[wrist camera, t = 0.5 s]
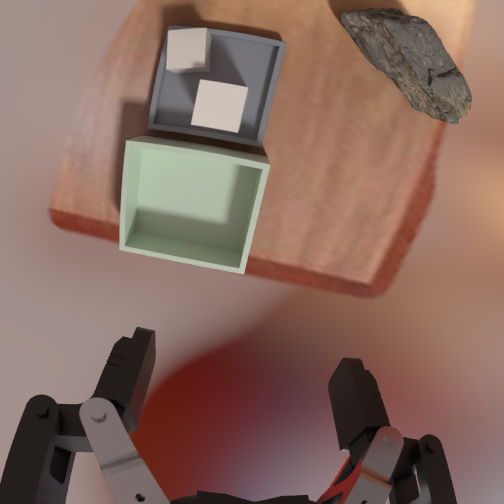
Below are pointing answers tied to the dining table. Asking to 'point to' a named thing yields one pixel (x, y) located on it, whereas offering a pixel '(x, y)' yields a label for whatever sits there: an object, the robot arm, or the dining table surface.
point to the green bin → (190, 201)
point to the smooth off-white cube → (189, 50)
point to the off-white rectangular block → (219, 105)
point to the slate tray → (225, 71)
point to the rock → (411, 60)
